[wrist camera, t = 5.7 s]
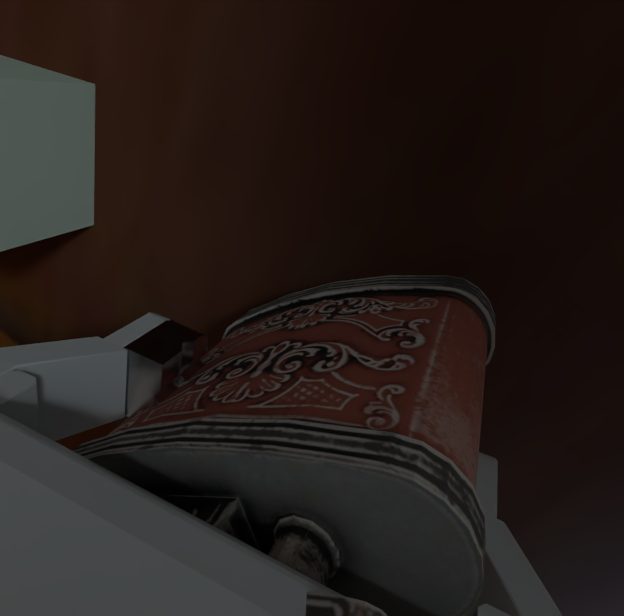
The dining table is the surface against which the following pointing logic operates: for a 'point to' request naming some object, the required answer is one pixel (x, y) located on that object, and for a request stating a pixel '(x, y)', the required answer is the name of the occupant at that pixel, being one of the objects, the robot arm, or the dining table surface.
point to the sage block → (44, 153)
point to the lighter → (336, 441)
